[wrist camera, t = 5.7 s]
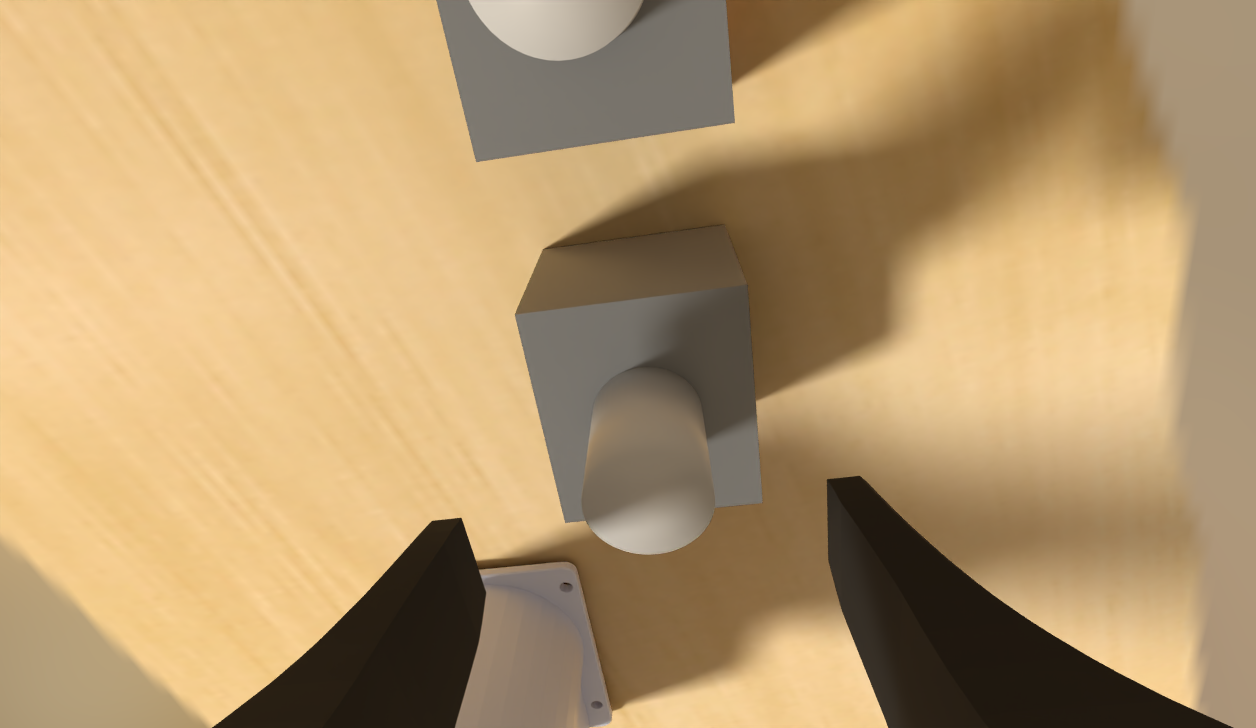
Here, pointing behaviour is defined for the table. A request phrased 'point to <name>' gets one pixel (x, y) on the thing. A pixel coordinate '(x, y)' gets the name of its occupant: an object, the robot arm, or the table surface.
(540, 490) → the table surface
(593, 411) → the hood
